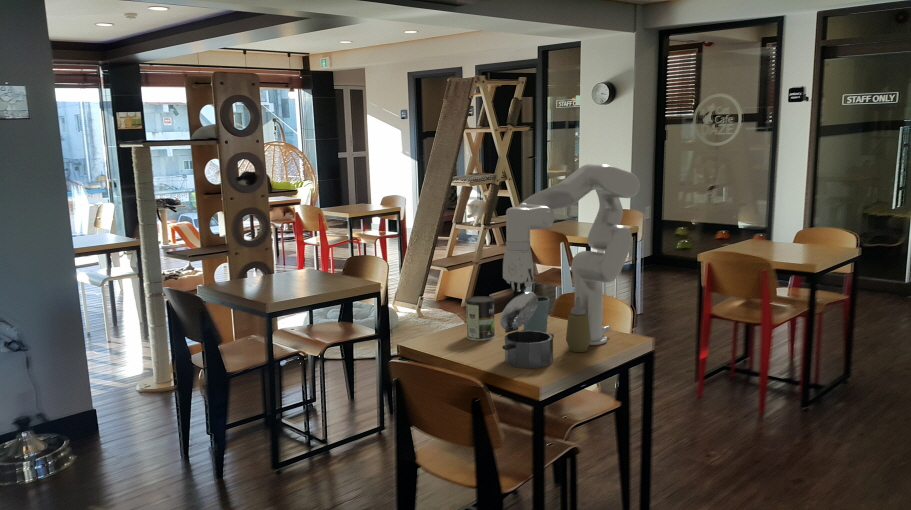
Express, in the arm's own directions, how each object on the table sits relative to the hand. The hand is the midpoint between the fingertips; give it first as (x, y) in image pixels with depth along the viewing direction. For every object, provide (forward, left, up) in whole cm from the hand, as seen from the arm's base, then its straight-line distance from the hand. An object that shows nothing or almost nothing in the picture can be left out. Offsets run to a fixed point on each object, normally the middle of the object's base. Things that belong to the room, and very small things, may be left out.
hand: (518, 302), depth 227 cm
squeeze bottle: (-20, +7, -19) cm, 28 cm away
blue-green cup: (-28, -21, -19) cm, 40 cm away
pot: (0, +4, -19) cm, 19 cm away
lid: (0, 0, -3) cm, 3 cm away
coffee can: (-7, -28, -19) cm, 34 cm away
